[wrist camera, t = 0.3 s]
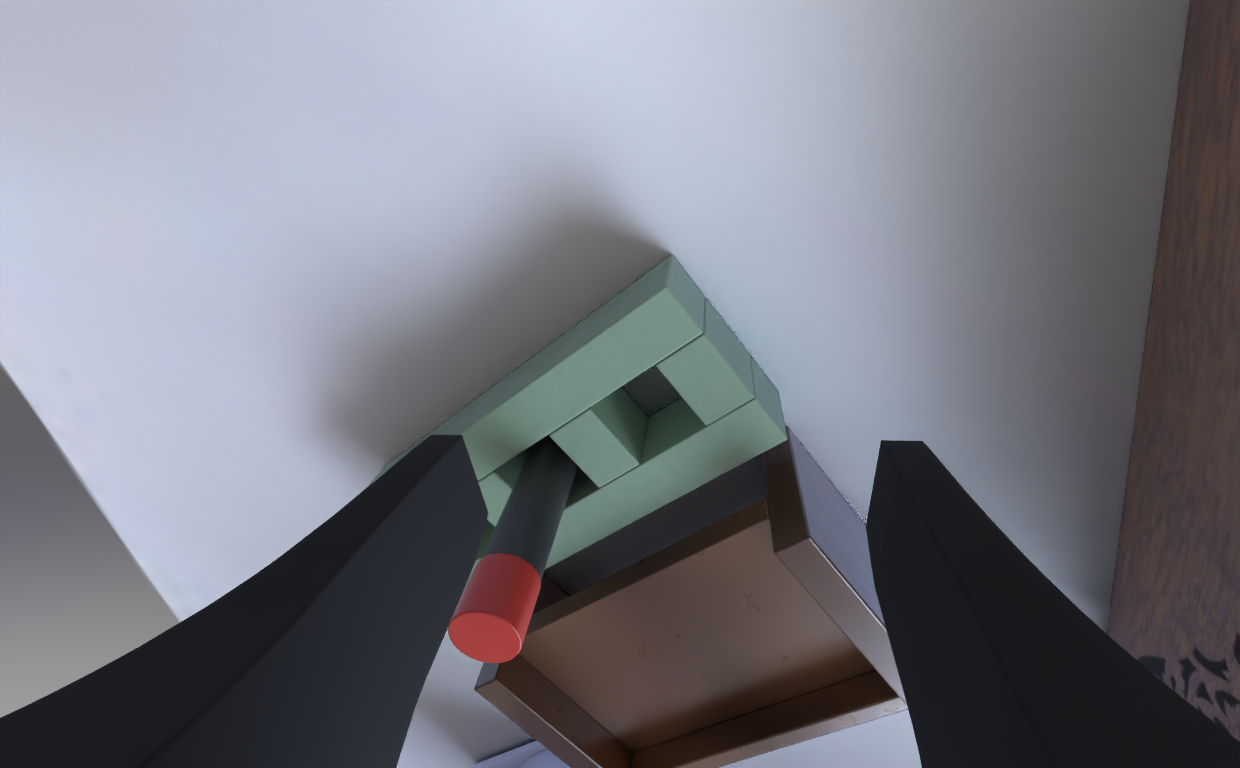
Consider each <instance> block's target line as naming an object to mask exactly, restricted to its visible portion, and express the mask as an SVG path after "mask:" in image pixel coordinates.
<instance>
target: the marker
mask: <svg viewBox="0 0 1240 768" xmlns="http://www.w3.org/2000/svg"><path fill="white" fill-rule="evenodd" d="M577 468H578V465H577V464H576V463H575V462H574V461H573V460H572V459H571V458H570V457H569V456H568V455H567V454H566V453H565V452H564V451H563V450H562V449H561V448H560V447H559V446H558V445H557V443H556V442H555V441H554V440H553V439H552V438H551V437H550V436H549V434H548V435H547V436H545V437H544V438H542V439H541V440H539V441H538V442H536V443H535V444H533V445H532V448H531V450H530V452H529V454H528V456H527V459H526V461H525V463H524V465H523V467H522V470H521V472H520V474H519V476H518V478H517V481H516V483H515V485H514V487H513V489H512V492H511V494H510V496H509V498H508V500H507V503H506V505H505V507H504V509H503V511H502V513H501V516H500V518H499V520H498V522H497V524H496V527H495V529H494V531H493V533H492V535H491V538H490V540H489V542H488V544H487V546H486V549H485V551H484V553H483V555H482V557H481V560H480V561H479V562H478V563H477V564H476V566H475V568H474V571H473V573H472V575H471V577H470V579H469V581H468V584H467V586H466V588H465V590H464V592H463V594H462V597H461V599H460V601H459V603H458V605H457V608H456V610H455V612H454V614H453V617H452V619H451V621H450V624H449V626H448V633H449V637H450V639H451V641H452V643H453V644H454V645H455V647H456V648H457V649H458V650H460V651H461V652H462V653H464V654H465V655H467V656H469V657H471V658H473V659H475V660H478V661H482V662H487V663H501V662H506V661H509V660H511V659H513V658H514V657H515V656H516V655H517V654H518V653H519V652H520V650H521V647H522V644H523V641H524V638H525V635H526V632H527V629H528V625H529V622H530V619H531V616H532V613H533V610H534V607H535V604H536V601H537V597H538V594H539V591H540V588H541V579H542V576H543V573H544V570H545V567H546V564H547V561H548V558H549V554H550V551H551V548H552V545H553V542H554V539H555V536H556V533H557V530H558V527H559V524H560V520H561V517H562V514H563V511H564V508H565V505H566V502H567V499H568V496H569V493H570V490H571V487H572V483H573V480H574V477H575V474H576V471H577Z"/></svg>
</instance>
